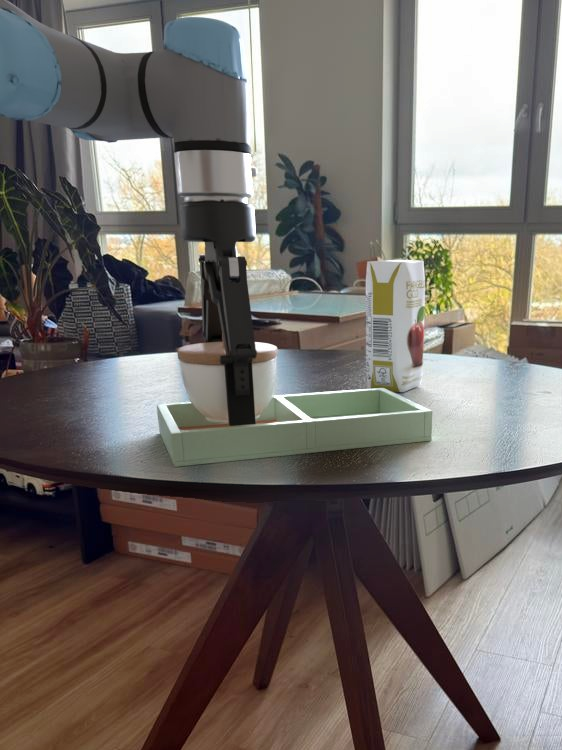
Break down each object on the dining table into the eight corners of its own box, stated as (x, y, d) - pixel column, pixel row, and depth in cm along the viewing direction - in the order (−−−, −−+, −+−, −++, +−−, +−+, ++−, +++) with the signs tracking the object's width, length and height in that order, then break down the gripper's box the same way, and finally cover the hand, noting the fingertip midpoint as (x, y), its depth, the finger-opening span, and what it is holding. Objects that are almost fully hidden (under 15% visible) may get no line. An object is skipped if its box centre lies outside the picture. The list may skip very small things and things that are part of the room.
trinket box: (296, 411, 85) (293, 329, 81) (250, 432, 75) (244, 340, 72) (217, 404, 88) (211, 325, 85) (164, 423, 79) (154, 335, 75)
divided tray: (174, 467, 74) (171, 433, 72) (159, 432, 87) (156, 404, 85) (431, 440, 84) (432, 411, 82) (383, 413, 97) (383, 387, 96)
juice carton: (360, 390, 112) (359, 260, 105) (385, 381, 119) (385, 259, 113) (404, 394, 109) (406, 261, 102) (427, 385, 116) (430, 260, 109)
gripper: (280, 195, 65) (291, 434, 73) (231, 206, 85) (244, 392, 93) (195, 193, 62) (216, 441, 70) (166, 205, 83) (184, 396, 90)
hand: (232, 413), depth 81 cm, fingers closed on trinket box, 11 cm apart
